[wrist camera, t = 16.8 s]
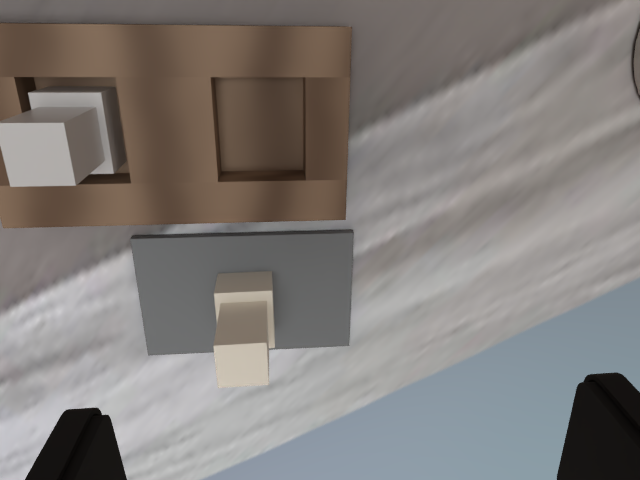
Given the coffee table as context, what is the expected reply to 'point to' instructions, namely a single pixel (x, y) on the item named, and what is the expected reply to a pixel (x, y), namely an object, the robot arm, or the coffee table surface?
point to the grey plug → (63, 137)
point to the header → (191, 121)
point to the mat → (234, 257)
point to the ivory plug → (243, 328)
